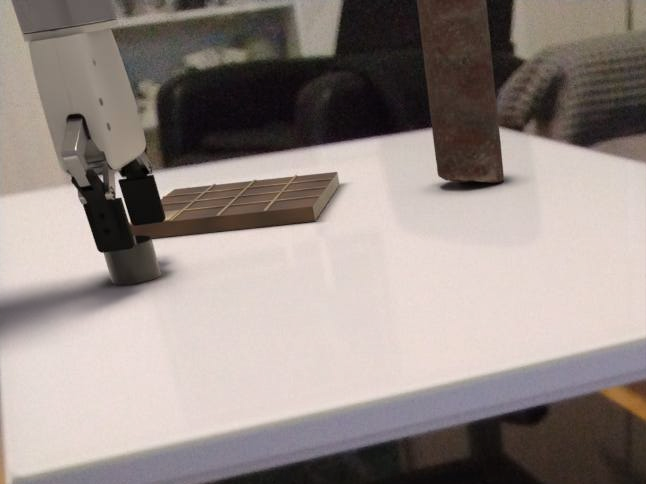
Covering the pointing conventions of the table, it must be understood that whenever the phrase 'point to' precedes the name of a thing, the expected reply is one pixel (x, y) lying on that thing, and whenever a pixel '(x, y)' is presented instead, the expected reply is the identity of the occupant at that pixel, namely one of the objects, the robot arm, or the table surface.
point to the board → (242, 205)
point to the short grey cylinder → (133, 263)
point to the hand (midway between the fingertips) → (134, 236)
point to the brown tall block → (461, 90)
